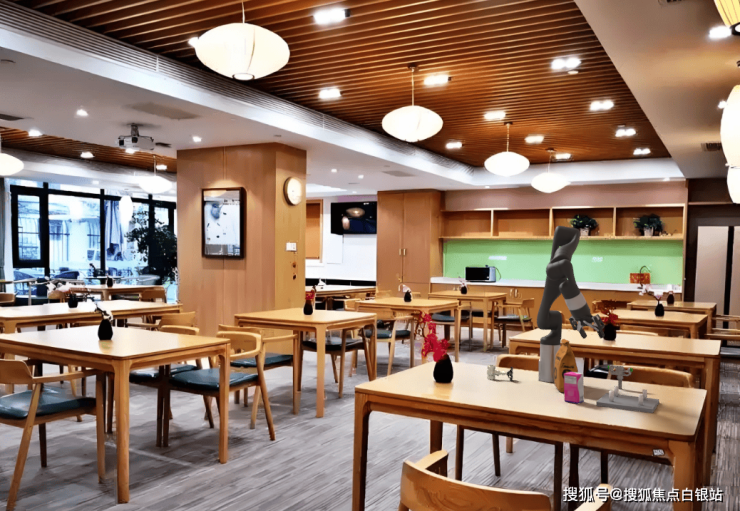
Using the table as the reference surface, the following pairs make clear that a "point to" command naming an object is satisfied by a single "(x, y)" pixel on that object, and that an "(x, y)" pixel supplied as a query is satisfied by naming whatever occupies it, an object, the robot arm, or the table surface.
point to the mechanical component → (619, 373)
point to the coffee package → (564, 364)
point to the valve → (498, 372)
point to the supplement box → (573, 387)
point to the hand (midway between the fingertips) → (593, 337)
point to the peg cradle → (628, 401)
